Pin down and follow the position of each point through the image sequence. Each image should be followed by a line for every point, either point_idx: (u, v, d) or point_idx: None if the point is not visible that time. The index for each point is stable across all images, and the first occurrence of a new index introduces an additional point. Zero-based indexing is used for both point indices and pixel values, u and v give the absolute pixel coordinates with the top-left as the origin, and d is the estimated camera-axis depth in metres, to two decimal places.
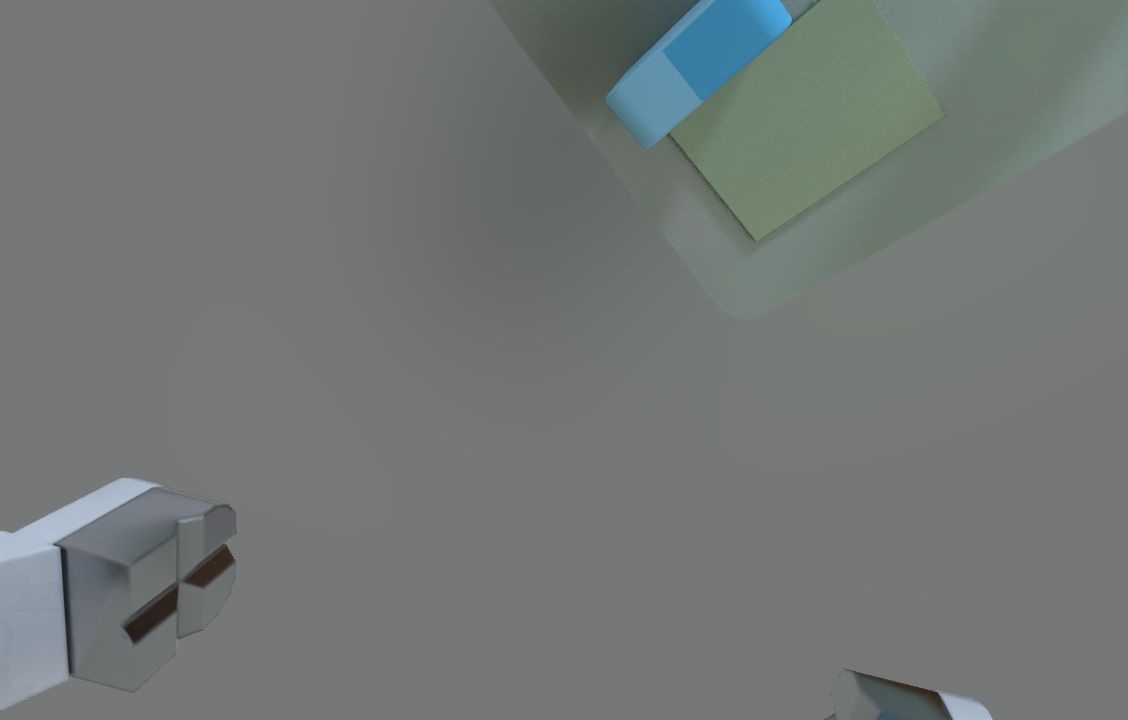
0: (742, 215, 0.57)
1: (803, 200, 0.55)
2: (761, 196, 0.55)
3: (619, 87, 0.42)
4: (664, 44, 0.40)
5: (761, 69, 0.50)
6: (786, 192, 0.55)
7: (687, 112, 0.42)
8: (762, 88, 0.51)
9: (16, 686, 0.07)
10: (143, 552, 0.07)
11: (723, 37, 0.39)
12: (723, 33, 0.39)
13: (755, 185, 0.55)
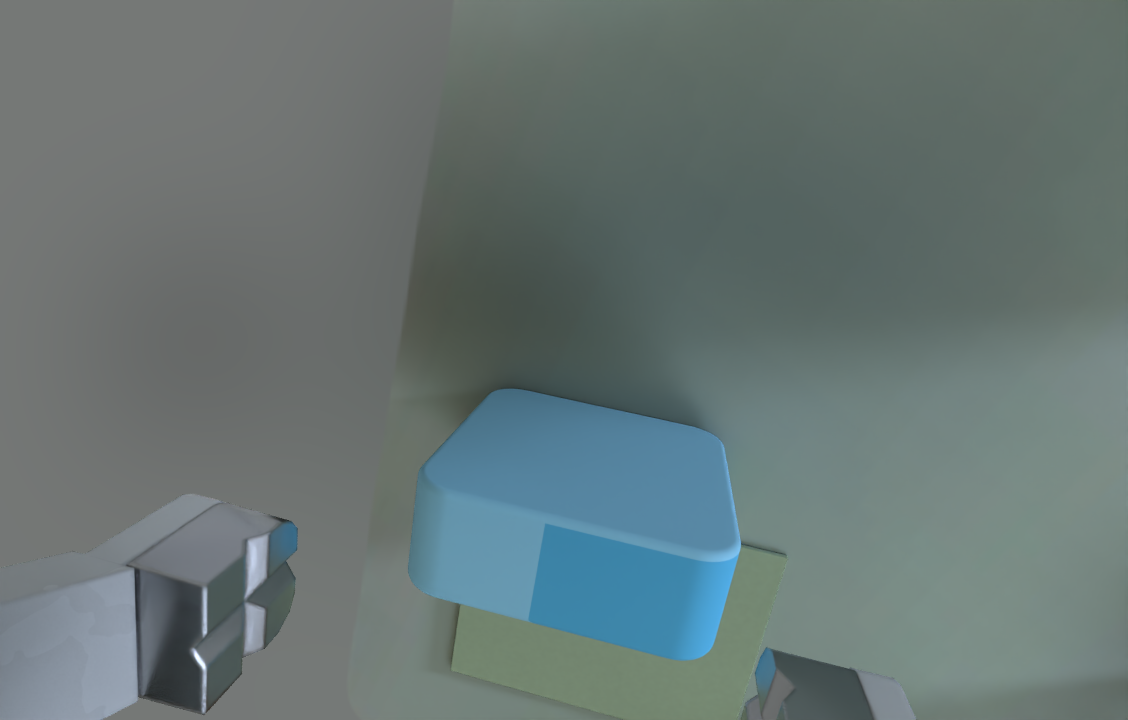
0: (463, 634, 0.38)
1: (534, 683, 0.38)
2: (500, 637, 0.37)
3: (449, 494, 0.22)
4: (555, 519, 0.22)
5: None
6: (527, 660, 0.38)
7: (498, 612, 0.23)
8: None
9: (89, 708, 0.07)
10: (216, 572, 0.07)
11: (627, 594, 0.22)
12: (632, 590, 0.22)
13: (505, 624, 0.37)
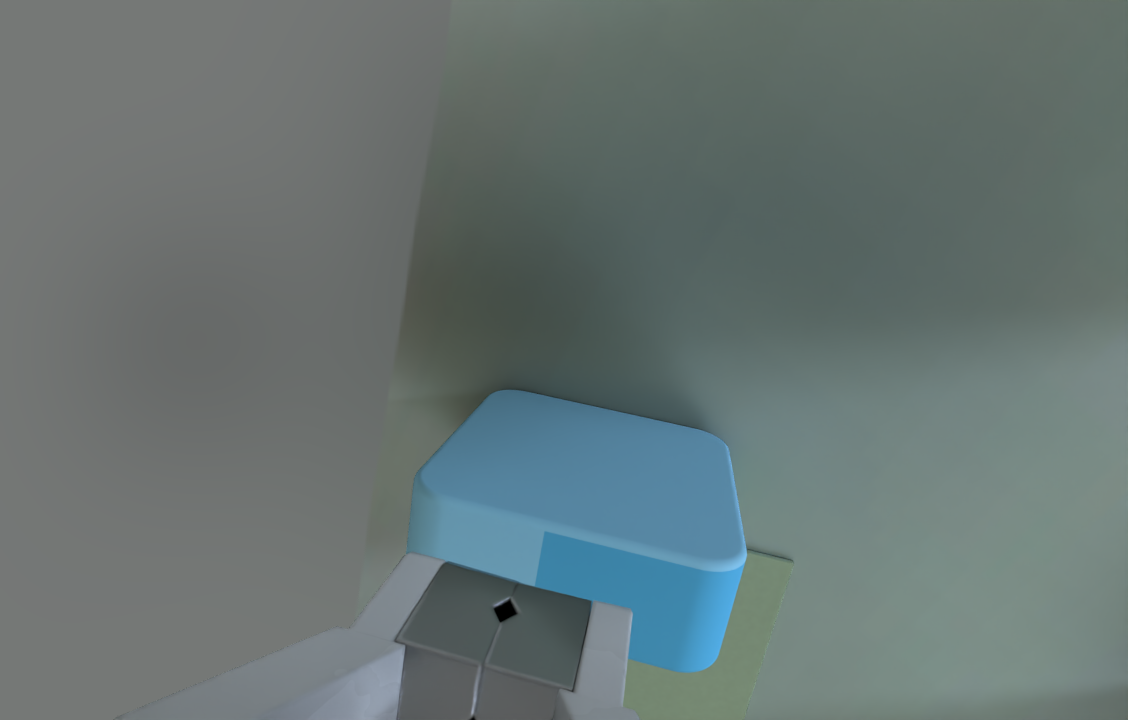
0: None
1: None
2: None
3: (446, 500, 0.21)
4: (555, 527, 0.21)
5: None
6: None
7: None
8: None
9: None
10: (483, 647, 0.07)
11: (629, 605, 0.21)
12: (634, 601, 0.21)
13: None
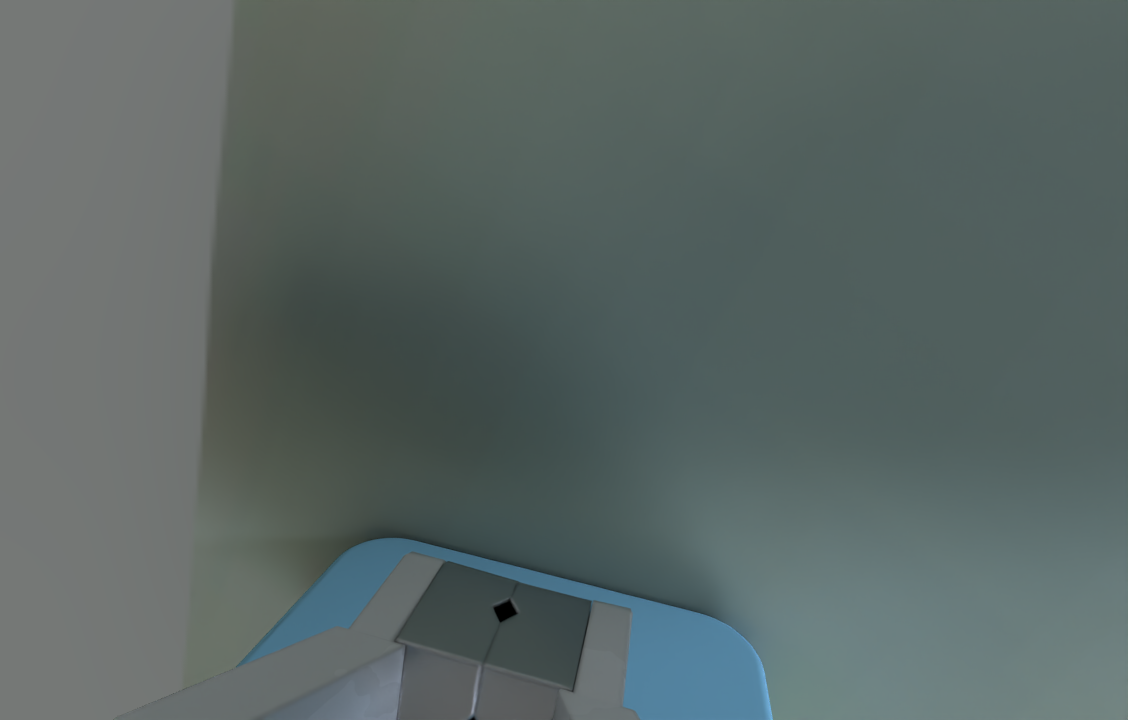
0: None
1: None
2: None
3: None
4: None
5: None
6: None
7: None
8: None
9: None
10: (483, 648, 0.07)
11: None
12: None
13: None
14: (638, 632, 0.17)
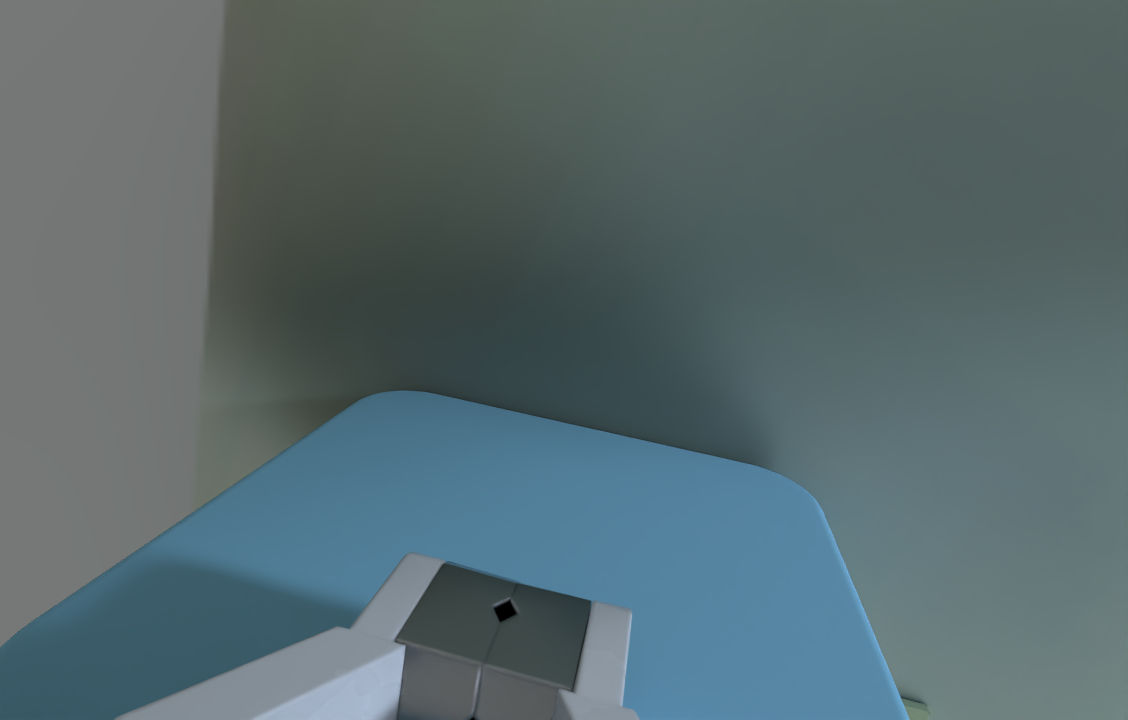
0: None
1: None
2: None
3: None
4: None
5: None
6: None
7: None
8: None
9: None
10: (484, 647, 0.07)
11: None
12: None
13: None
14: (683, 473, 0.15)
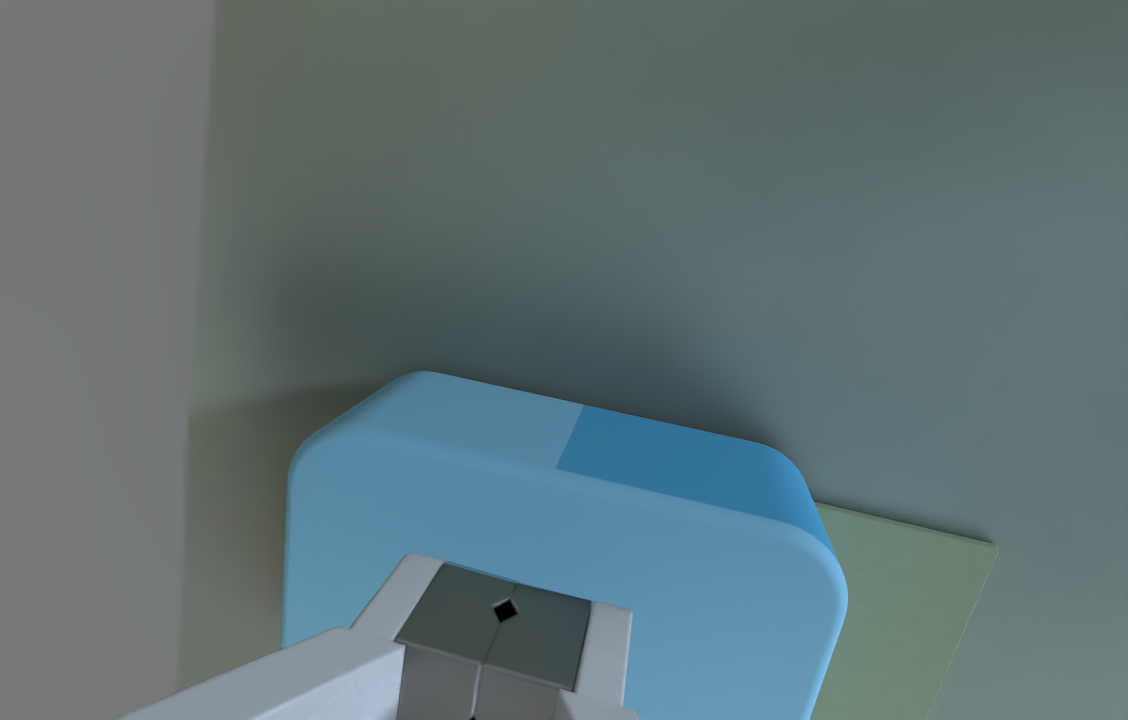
0: None
1: None
2: None
3: None
4: None
5: None
6: None
7: None
8: None
9: None
10: (483, 647, 0.07)
11: None
12: None
13: None
14: (675, 581, 0.13)
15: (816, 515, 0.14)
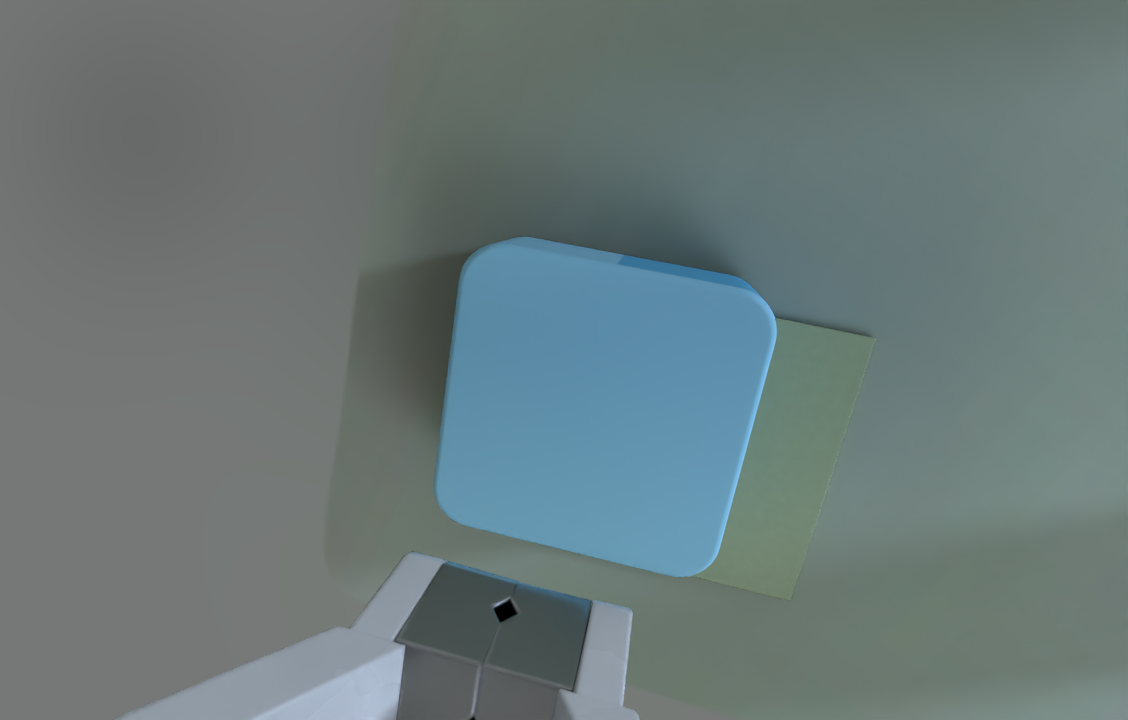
0: None
1: None
2: None
3: (466, 525, 0.27)
4: (554, 547, 0.26)
5: None
6: None
7: None
8: None
9: None
10: (483, 647, 0.07)
11: None
12: None
13: None
14: (683, 324, 0.23)
15: None
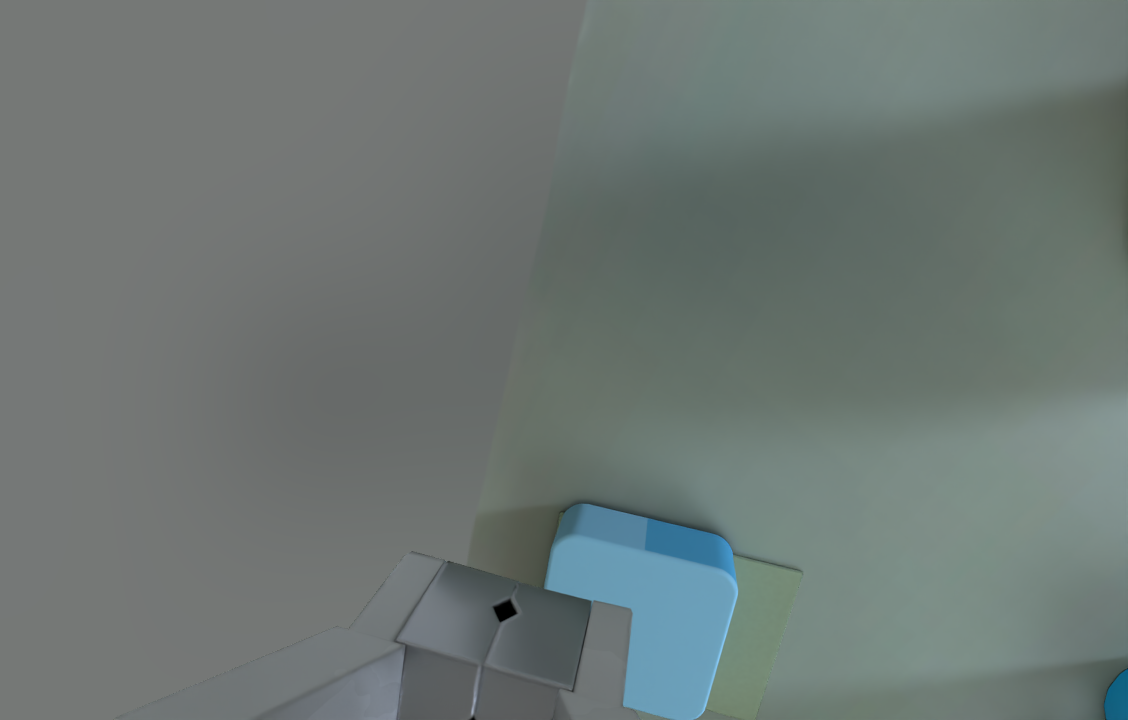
0: None
1: None
2: None
3: None
4: None
5: None
6: None
7: None
8: None
9: None
10: (484, 647, 0.07)
11: None
12: None
13: None
14: (683, 586, 0.39)
15: (730, 563, 0.40)
